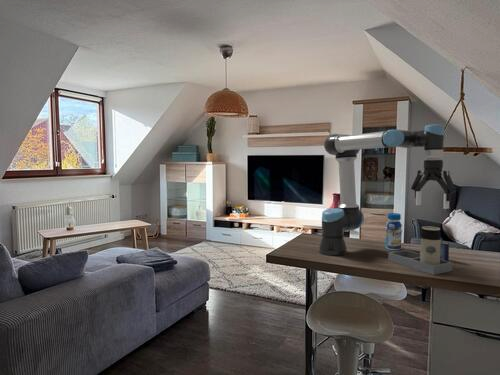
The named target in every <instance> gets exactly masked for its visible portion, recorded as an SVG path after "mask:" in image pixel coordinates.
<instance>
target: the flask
mask: <svg viewBox="0 0 500 375" xmlns="http://www.w3.org/2000/svg"><path fill="white" fill-rule="evenodd" d="M449 255H450V243H449V242H447V241H444V240H443V238H442V237H441V245H440V259H442V260H445V261H449V260H450V256H449ZM449 262H450V261H449Z"/></svg>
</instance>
